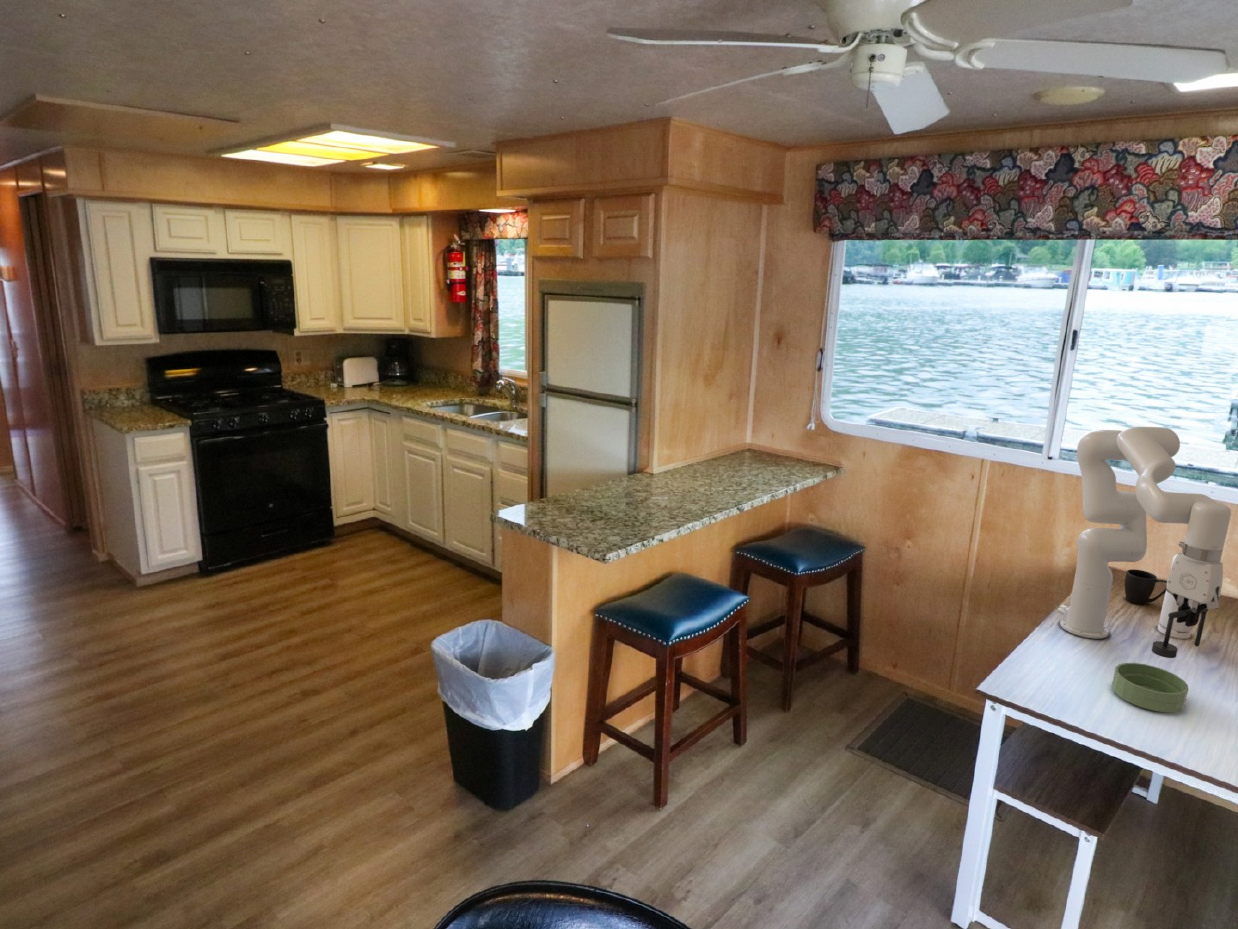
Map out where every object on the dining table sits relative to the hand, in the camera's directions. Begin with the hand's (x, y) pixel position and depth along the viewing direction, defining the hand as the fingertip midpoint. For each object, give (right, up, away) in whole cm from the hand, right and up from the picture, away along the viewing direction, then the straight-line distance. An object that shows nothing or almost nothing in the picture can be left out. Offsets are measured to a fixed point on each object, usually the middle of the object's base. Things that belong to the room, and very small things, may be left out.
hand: (1186, 623), depth 191 cm
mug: (+31, -6, +62) cm, 70 cm away
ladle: (-1, -7, +1) cm, 7 cm away
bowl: (-7, -20, +5) cm, 21 cm away
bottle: (+26, -11, +42) cm, 50 cm away
